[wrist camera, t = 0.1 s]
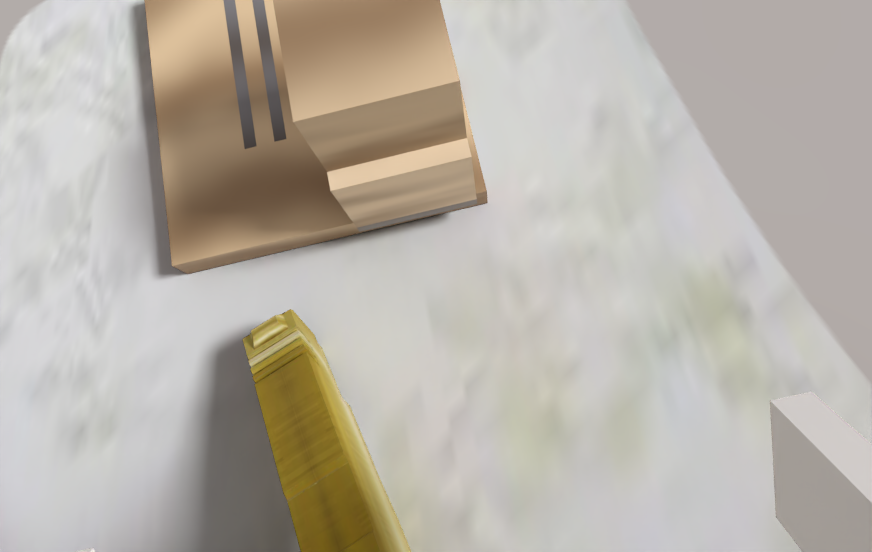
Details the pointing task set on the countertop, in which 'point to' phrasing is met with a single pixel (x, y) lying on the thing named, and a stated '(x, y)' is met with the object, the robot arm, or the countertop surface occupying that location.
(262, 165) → the board
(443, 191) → the block
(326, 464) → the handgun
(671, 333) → the countertop surface
